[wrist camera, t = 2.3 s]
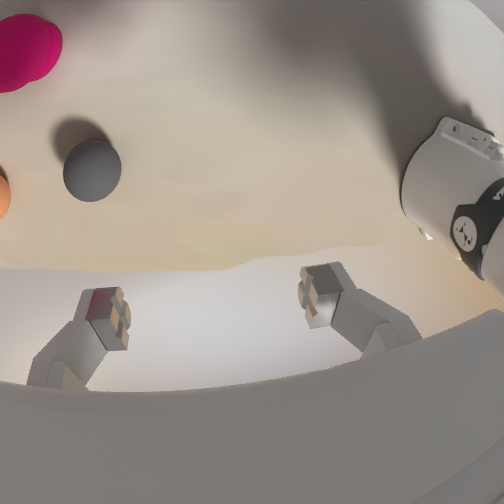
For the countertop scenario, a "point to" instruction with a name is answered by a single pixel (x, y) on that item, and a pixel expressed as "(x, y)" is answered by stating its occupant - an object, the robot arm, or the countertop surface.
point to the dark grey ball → (92, 170)
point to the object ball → (4, 197)
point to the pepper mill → (26, 50)
